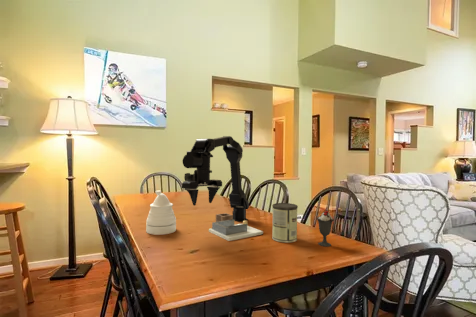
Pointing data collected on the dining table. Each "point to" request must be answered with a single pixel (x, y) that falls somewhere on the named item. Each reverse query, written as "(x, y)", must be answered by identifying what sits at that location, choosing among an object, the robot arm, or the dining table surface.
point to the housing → (228, 227)
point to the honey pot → (161, 216)
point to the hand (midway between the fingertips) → (202, 204)
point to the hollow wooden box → (223, 217)
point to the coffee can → (284, 222)
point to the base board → (235, 236)
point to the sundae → (325, 227)
